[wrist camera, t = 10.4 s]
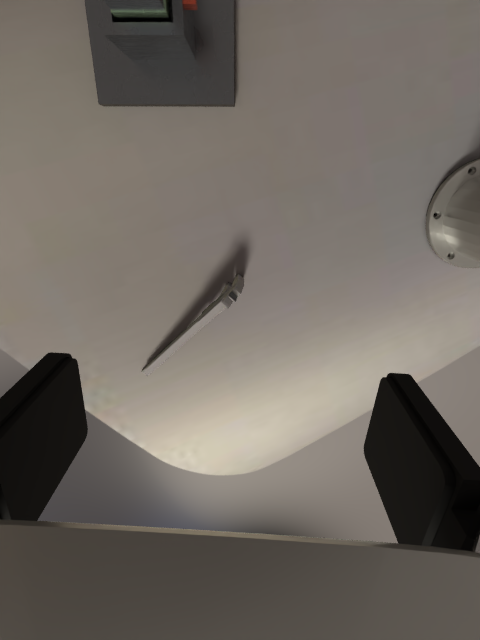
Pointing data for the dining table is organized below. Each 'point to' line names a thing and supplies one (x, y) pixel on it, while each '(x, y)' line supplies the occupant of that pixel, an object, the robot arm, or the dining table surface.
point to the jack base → (164, 55)
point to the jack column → (140, 10)
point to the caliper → (199, 322)
